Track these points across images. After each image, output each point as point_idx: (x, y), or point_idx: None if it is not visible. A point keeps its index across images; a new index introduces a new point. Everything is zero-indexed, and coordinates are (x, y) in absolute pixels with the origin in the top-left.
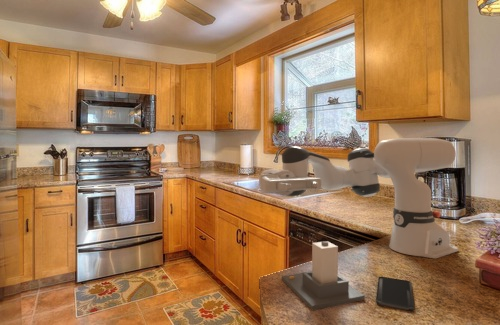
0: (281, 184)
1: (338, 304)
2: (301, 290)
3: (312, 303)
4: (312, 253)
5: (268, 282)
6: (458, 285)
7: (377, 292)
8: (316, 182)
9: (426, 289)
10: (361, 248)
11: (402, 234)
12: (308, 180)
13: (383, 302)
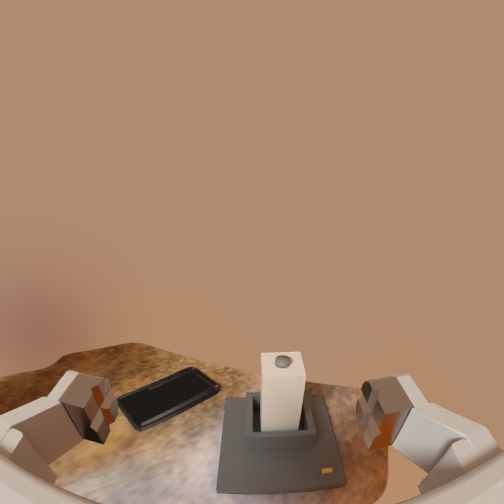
0: (449, 420)
1: None
2: (323, 429)
3: (319, 398)
4: (303, 393)
5: (376, 477)
6: None
7: (196, 400)
8: (65, 378)
9: (116, 386)
10: None
11: None
12: (14, 464)
13: (212, 384)
